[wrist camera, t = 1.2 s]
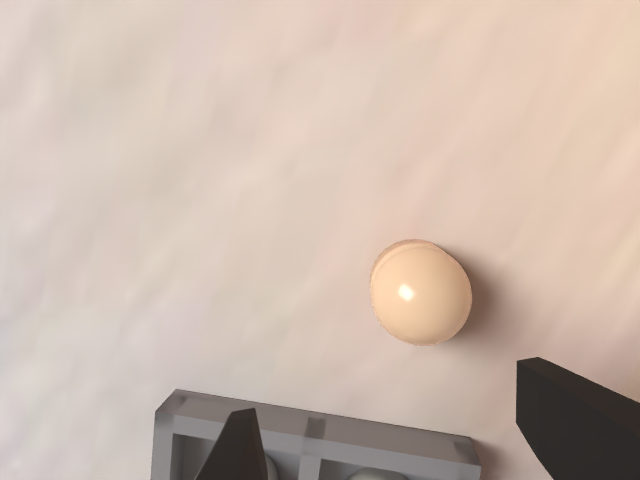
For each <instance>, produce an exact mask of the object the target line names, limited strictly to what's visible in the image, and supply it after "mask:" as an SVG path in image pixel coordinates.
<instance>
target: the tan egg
mask: <svg viewBox="0 0 640 480" xmlns="http://www.w3.org/2000/svg"><path fill="white" fill-rule="evenodd" d="M370 288H371V300H372V306H373V309H374V312H375V315H376V317H377V319H378V321H379V322H380V324H381V325H382V326H383V327H384V328H385V330H386V331H387V332H389V333H390V334H391V335H392V336H394V337H395V338H397V339H399V340H401V341H403V342H405V343H408V344H413V345H419V346H428V345H435V344H438V343H441V342H443V341H446V340H447V339H449V338H451V337H452V336H454V335H455V334H456V333H457V332H458V331H459V330H460V329H461V328H462V326H463V325H464V324H465V322H466V320H467V318H468V316H469V313H470V310H471V306H472V290H471V285H470V282H469V279H468V277H467V275H466V273H465V271H464V270H463V268H462V267H461V266H460V265H459V263H458V262H457V261H456V260H454V259H453V258H452V257H451V256H450V255H448V254H447V253H446V252H445V251H443V250H442V249H441V248H439V247H438V246H436V245H434V244H432V243H430V242H427V241H423V240H415V239H412V240H404V241H400V242H397V243H395V244H393V245H391V246H390V247H388V248H387V249H385V250H384V251H383V252H382V253H381V254H380V255H379V257H378V258H377V260H376V261H375V263H374V265H373V268H372V271H371V276H370Z"/></svg>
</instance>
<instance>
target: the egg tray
mask: <svg viewBox="0 0 640 480" xmlns="http://www.w3.org/2000/svg"><path fill="white" fill-rule="evenodd" d="M249 408H255V409H256V414H257V419H258V424H259V429H260V434H261V439H262V444H263V449H264V452H265V453H266V454H267V455H268V456H269V457H270V458H271V460H272V461H273V462H274V464H275V466H276V468H277V471H278V474H279V480H345V479H346V478H347V477H348V476H349V475H350V474H352V473H353V472H355V471H357V470H359V469H361V468H365V467H373V468H379V469H384V470H390V471H396V472H399V473H400V474H402V475H403V476H405V477H406V478H407V479H408V480H479V479H480V473H481V468H482V466H481V464H480V461H479V459H478V457H477V454H476V452H475V450H474V447H473V445H472V443H471V440H470V438H469V437H465V436H459V435H453V434H446V433H440V432H434V431H428V430H422V429H416V428H410V427H404V426H397V425H391V424H385V423H379V422H373V421H367V420H361V419H355V418H348V417H342V416H336V415H330V414H324V413H318V412H312V411H306V410H300V409H293V408H287V407H281V406H275V405H269V404H263V403H257V402H251V401H244V400H238V399H232V398H226V397H220V396H214V395H208V394H202V393H195V392H189V391H183V390H177V389H176V390H175V391H174V392H173V393H172V394H171V395H170V396H169V397H168V398H167V399H166V400H165V402H164V403H163V404H162V405H161V406H160V407H159V408H158V409H157V410H156V411H155V423H154V437H153V452H152V466H151V480H194V479H195V478H196V476H197V474H198V472H199V471H200V469H201V467H202V465H203V464H204V462H205V460H206V458H207V457H208V455H209V454H210V452H211V450H212V448H213V446H214V444H215V442H216V441H217V439H218V437H219V435H220V433H221V431H222V429H223V427H224V425H225V422H226V420H227V418H228V416H229V415H230V414H231V412H233V411H238V410H244V409H249Z"/></svg>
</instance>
